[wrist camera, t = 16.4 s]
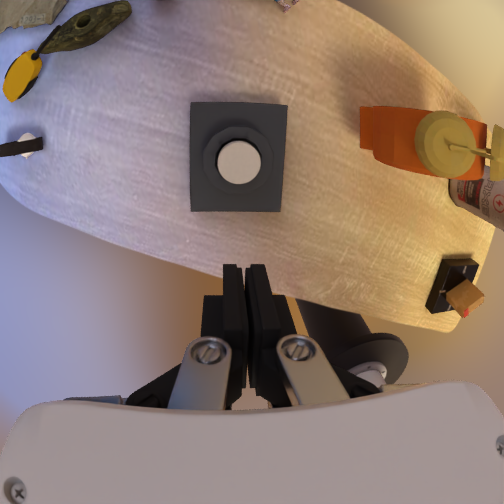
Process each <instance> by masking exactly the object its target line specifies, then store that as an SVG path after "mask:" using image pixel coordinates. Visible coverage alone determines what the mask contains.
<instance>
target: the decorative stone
mask: <svg viewBox="0 0 504 504" xmlns="http://www.w3.org/2000/svg"><path fill="white" fill-rule="evenodd" d="M131 13H132V8H131V5H130V3H129V2H128V1H126V0H120V1H115V2H112V3H108V4H105V5H101V6H97V7H94V8H90V9H87V10H85V11H82V12H80V13H78V14H76V15H74V16H73V17H72V18H70V19H69V20H68V21H67V22H65V23H64V24H63V25H62V26H61V28H60V29H59V31H58V32H57V33H56V34H55V35H54V36H53V38H52V39H51V40H50V41H49V42H48V44H47V45H46V46H45V47H44V49H43V50H42V51H41V52H40V53H41V54H50V53H54V52H59V51H71V50H75V49H79V48H83V47H86V46H89V45H91V44H93V43H95V42H97V41H98V40H100V39H101V38H102V37H104V36H105V35H106V34H107V33H109V32H110V31H111V30H112V29H114V28H115V27H116V26H117V25H119V24H120V23H122V22H123V21H124V20H125V19H126V18H128V17H129V16H130V15H131ZM43 42H44V41H43ZM43 42H42V43H43ZM42 43H41V45H42ZM41 45H40V46H41ZM40 46H39V47H40ZM38 49H39V48H38Z"/></svg>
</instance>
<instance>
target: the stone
mask: <svg viewBox="0 0 504 504" xmlns="http://www.w3.org/2000/svg"><path fill="white" fill-rule="evenodd" d="M66 3H67V1H66V0H0V33H2V32H3V31H5V30H6V28H8V27H11V26H12V28H13V29H16V28H18V27H20V26H23V28H24V29H25V28H28V27H29V28H32V27H36V26H38V25H42V24H46V23H47V24H49V25H51V24H52V23H53V21H54V20H55V18H56V17H57V14H58V13H59V12H60V11H61V10H62V8H63V7H64V6H65V4H66Z"/></svg>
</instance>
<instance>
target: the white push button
mask: <svg viewBox="0 0 504 504" xmlns="http://www.w3.org/2000/svg"><path fill="white" fill-rule="evenodd" d="M260 166H261V160H260V156H259V154H258V152H257V151H256V149H255V148H254V147H253V146H252V145H250V144H249V143H247V142H244V141H233V142H230V143H228V144H227V145H225V146H224V147H223V148H222V150H221V151H220V153H219V156H218V169H219V172H220V174H221V175H222V177H223V178H224V179H226V180H227V181H229V182H231V183H234V184H243V183H247V182H249V181H251V180H252V179H254V178H255V177H256V175H257V174H258V172H259V170H260Z"/></svg>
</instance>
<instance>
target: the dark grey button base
mask: <svg viewBox="0 0 504 504" xmlns="http://www.w3.org/2000/svg"><path fill="white" fill-rule="evenodd" d="M287 110H288V106H287V105H278V104H264V103H244V102H191V105H190V204H191V212H201V211H240V212H280V209H281V196H282V184H283V170H284V156H285V142H286V126H287ZM233 141H244V142H247V143H249V144H250V145H252V146H253V147H254V148H255V149H256V151H257V152H258V154H259V156H260V160H261V166H260V170H259V172H258V174H257V175H256V177H255V178H254V179H252V180H251V181H249V182H247V183H243V184H234V183H231V182H229V181H227V180H226V179H224V178H223V177H222V175H221V174H220V172H219V169H218V156H219V153H220V151H221V150H222V148H223V147H224V146H225V145H227V144H228V143H230V142H233Z"/></svg>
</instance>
